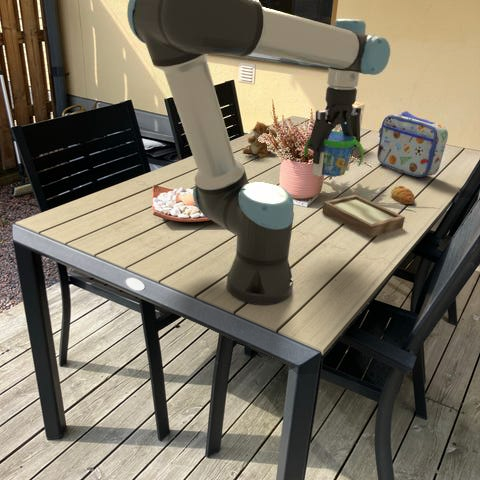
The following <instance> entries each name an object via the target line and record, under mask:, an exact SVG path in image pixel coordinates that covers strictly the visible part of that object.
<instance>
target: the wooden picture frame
mask: <svg viewBox="0 0 480 480" xmlns="http://www.w3.org/2000/svg"><path fill="white" fill-rule="evenodd" d="M322 213H323V214H325V215H327V216H328V217H331V218H332V219H334V220H336V221H338V222H340V223H342V224H344V225H345V226H347V227H349V228H352V229H353V230H355V231H356V232H358V233H361V234H362V235H364V236H366V237H368V238H373V237H377V236H380V235H383V234H386V233H389V232H394V231H397V230H400V229H403V227H404V223H405V219H406V217H405V216H404V215H401V214H399V213H397V212H395V211H392V210H390V209H389V208H386V207H384V206H382V205H380V204H378V203H376V202H373V201H371V200H369V199H367V198H364V197H362V196H360V195H358V194H353V195H347V196H343V197H340V198H335V199H330V200H325V201H323V205H322Z"/></svg>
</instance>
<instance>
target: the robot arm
mask: <svg viewBox="0 0 480 480" xmlns="http://www.w3.org/2000/svg"><path fill="white" fill-rule="evenodd" d="M126 14H127V15H126V16H127V21H128V25H129V28H130V30H131V32H132V33H133V35H134V36H135V37H136V38H137V39H138V41H140V42H141V43H143V44H145V46H146V48H147V52H148V54H149V57H150V59H151V60H150V61H151V63H152V65H153V66H154V67H155V68H157V69H159V70H161V71H162V72H163V73H164V75H165V78H166V81H167V84H168V87H169V90H170V93H171V96H172V98H173V102H174V104H175V107H176V110H177V114H178V115H179V119H180V121H181V122H180V123H181V125H182V127H183V131H184V133H185V137H186V140H187V142H188V146H189V148H190V150H191V151H190V152H191V153H192V157H193V159H194V163H195V166H196V168H197V172H196V174H195V176H194V183H195V184H194V185H195V186H194V188H193V189H192V191H193V192H192V196H193V197H192V198H193V203H194V204H195V206H196V208H197V210H198V211H199V212H201V214H202V215H203V216H204V217H206V218H207V219H209V220H211V222H212V221H213V222H214V223H216V224H217V225H219V226H220V227H222V228H223V229H225V230H227V231H228V232H229V233H232V234H233V235H235V236H236V249H235V250H236V251H235V257H234V260H233V261H232V265H231V266H230V268H229V271H228V272H227V275H226V288H227V291H228V292H229V293H230V294H231V296H232V297H234V298H236V299H238V300H240V301H242V302H245V303H248V304H253V305H259V306H260V305H263V306H264V305H274V304H279V303H281V302H284V301H285V300H287V299H288V298H290V296H291V295H292V293H293V287H294V279H293V276H292V270H291V266H290V261H289V255H290V252H289V251H290V246H291V239H292V238H291V237H292V231H293V223H294V216H295V211H294V199H293V197H292V195H291V194H290V193H289V192H288V191H287V190H286V189H285V188H283V187H281V186H279V185H278V184H277V185H276V184H274V183H271V184H269V183H268V182H263V181H255V182H249V179H248V176H247V173H246V170H245V166H244V164H243V163H242V162H241V161H240V160H238V159H235V155H234V152H233V147H232V145H231V144H232V143H231V141H230V137H229V134H228V130H227V128H226V124H225V120H224V117H223V113H222V110H221V106H220V103H219V99H218V95H217V93H216V91H217V90H216V88H215V85H214V82H213V78H212V75H211V71H210V66H209V64H208V60H207V56H208V55H227V56H237V57H242V58H245V57H249V56H251V55H252V54H253V53H254V54H258V55H264V56H269V57H270V56H271V57H276V58H281V59H286V60H292V61H296V62H297V63H298V64H299V65H306V66H313V65H318V66H324V67H328V74H327V85H328V86H327V87H326V92H325V102H326V107H325V109H324V110H319V109H317V110H316V111H315V120H314V124H313V126H312V130H311V133H310V135H309V138H310V140H309V143H308V150H311V151H313V154H312V164H313V167H312V175H315V176H317V177H322V168H323V159H324V152H322V150H323V148H324V140H325V139H326V140H328V138H329V136H330V134H331V132H332V131H334V130H335V127H336V125H339V124H340V125H341V128H342V131H343V134H344V135H346V136H349V137H350V136H352V135H353V136H354V137H356V140H357V141H358V142H360V143H361V129H360V113H361V108H360V107H356V106H353V105H352V104H354V103H355V102H357V95H358V89H357V88H356V87H358V85H359V84H358V83H359V77H360V74H363V75H371V76H376V75H379V74H381V73H383V71H384V70H385V69H386V68H387V65H388V64H389V61H390V60H389V59H390V57H391V46H390V43H389V41H388V40H387V39H386V38H384V37H382V36H378V35H376V34H375V35H374V34H370V35H369V34H366V28H367V25H366V22H365V21H364V20H362V19H356V18H336V20H335V21H334V24H333V25H331V24H327V23H323V22H320V21H315V20H312V19H308V18H305V17H301V16H298V15H292V14H290V13H287V12H286V13H285V12H282V11H278V10H275V9H272V8H271V9H270V8H266V7H264V6H263V5H262V4H261V2H260V1H259V0H129V1H128V4H127V13H126ZM318 146H319V147H318ZM354 147H355V148H358V146H357V145H355V146H354ZM353 151H354V149H353V150H352V153H351V155H350V158H349V161H348V165H347V168H346V171H345V172H348V171H350V164H351V159H352V156H353Z"/></svg>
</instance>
